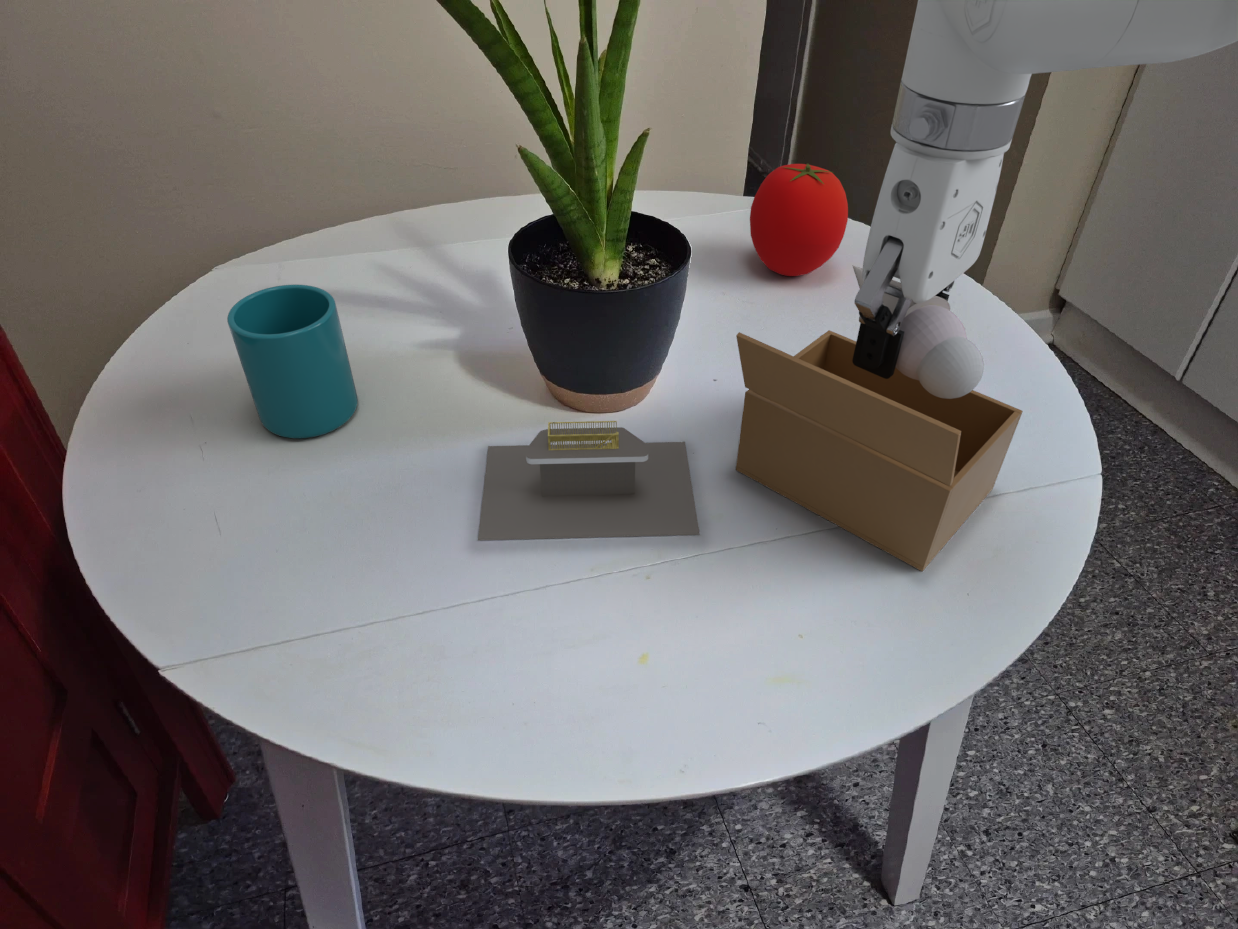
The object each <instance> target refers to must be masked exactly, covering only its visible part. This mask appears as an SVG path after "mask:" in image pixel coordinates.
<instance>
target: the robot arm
mask: <svg viewBox="0 0 1238 929" xmlns="http://www.w3.org/2000/svg"><path fill="white" fill-rule="evenodd" d="M1237 42H1238V0H917V4H916V9H915V13H914V19H913V23H912V28H911V33H910V38H909V42H908V46H907V51H906V57H905V61H904V65H903V71H902V76H901V79H900V83H899V89H898V95H897V97H896V104H895V108H894V113H893V118H892V124H891V127H890V136H891V138H892V139H893V141H895V144H894V146H893V149H892V152H891V155H890V158H889V162H888V165H887V167H886V171H885V174H884V176H883V179H882V180H883V181H882V183H881V186H880V191H879V194H878V198H877V200H876V205H875V209H874V212H873V216H872V220H871V224H870V228H869V232H868V236H867V240H866V245H865V249H864V256H863V262H862V277H863V280H864V283H863V285H862V286H861V288H859V290H858V291H857V293H856V296H855V298H854V305H855V307H856V309H857V310H858V316H859V317H858V322H859V323H860V324H859V328H858V333H857V337H856V340H855V341H856V346H855V350H854V355H853V360H852V362H853V364H854V365H855V366H857V367H859V368H862V369H864V370H866V371H868V372H871V373H873V374H875V375H878V376H880V377H882V378H885V379H889V378H890V377H891V376H892V375H893V374H894V371H895V367H896V363H897V359H898V355H899V351H900V348H901V344H902V340H903V336H904V331H902V330H900V327H901V325H902V323H903V320H904V318H905V315H906V313H907V311H908V308H909V306H910V303H911V301H913V302H914V303H918V304H919V303H923V302H925V301H927V300H929V299H931V298H932V297H934V296H938V297H941V298H943V299H945V300H947V302H948V301H949V298H950V294H948V293H949V292H950V291H951V290H952V289H953V286H954V285H955V282H956V280H957V279H958V278H959V277H960V276H962V275H963V274H964V273H965V272H967V271H968V270H969V269H970V268H971V267H972V266H973V265H974V264H975V263H976V262H977V260H978V258H979V256H980V255H981V252H982V248H983V245H984V242H985V237H986V234H987V229H988V227H989V226H988V225H989V223H990V222H989V221H990V218H991V214H992V210H993V206H994V202H995V198H996V195H997V190H998V187H999V181H1000V176H1001V173H1002V172H1001V171H1002V168H1003V161H1004V155H1005V153H1006V152H1008V150H1009V149H1010V148H1011V144H1012V141H1013V138H1014V135H1015V131H1016V129H1017V124H1018V121H1019V118H1020V115H1021V112H1022V109H1023V104H1024V101H1025V98H1026V93H1027V91H1028V88H1029V85H1030V81H1031V77H1032V75H1035V74H1045V73H1046V74H1047V73H1059V72H1072V71H1081V70H1089V69H1098V68H1099V69H1100V68H1112V67H1113V68H1114V67H1124V66H1138V65H1153V64H1166V63H1167V64H1168V63H1173V62H1179V61H1183V60H1188V59H1192V58H1196V57H1198V56H1202V55H1206V54H1208V53H1211V52H1213V51H1216V50H1219V49H1222V48H1225V47H1227V46H1230V45H1232V44H1234V43H1237ZM894 278H896V279H899V282H900V283H901V287H902V288H900V287H897V286H894V285H892V284H890V282H891V280H894ZM884 293H886V294H889V295H891V296H894V297H897V298H899V299H898V302H897V304H896V307H895V309H894V312H893V314H892V313H891V311H890V309H889V308H888V307H887V306H884V305H883V295H884ZM948 303H949V302H948Z"/></svg>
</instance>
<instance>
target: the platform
mask: <svg viewBox="0 0 1238 929" xmlns="http://www.w3.org/2000/svg"><path fill="white" fill-rule="evenodd" d="M604 423H606V427H604ZM613 423H615V426H613ZM563 424H565V426H563ZM579 424H581V427H579ZM588 424H590V427H588ZM595 424H599V427H595ZM617 424H618V422H617V420H591V421H589V420H588V421H554V422H553V421H548V423H547V428H546V429H542V430H540V431H539V432H538V433H537V434H536V436H535V437H534V438H533V440H532V441H531V442H530V443H529V444H526V445H523V444H522V445H521V444H519V445H488V446H487V454H486V464H485V473H484V481H483V490H482V498H481V500H482V501H481V507H480V508H481V509H480V516H479V517H480V518H479V526H478V535H477V541H506V540H508V541H509V540H511V541H512V540H544V539H545V540H547V539H549V540H550V539H583V538H586V539H587V538H620V537H621V538H622V537H623V538H624V537H625V538H627V537H628V538H629V537H661V536H663V537H665V536H666V537H667V536H697V535H698V536H699V535H700V534H701V533H700V527H699V522H698V515H697V509H696V502H695V497H694V496H695V495H694V489H693V483H692V477H691V471H690V465H689V458H688V457H689V456H688V452H687V444H686V441H662V442H661V441H660V442H659V441H658V442H657V441H656V442H655V441H654V442H645V441H643V440H642V439H640V438H639V437H637V436H636V435H635V434H633V433H632V432H630V431H629V430H628V429H626V428H625V427H622V426H619V427H618V425H617ZM554 425H556V428H554ZM570 425H572V427H570ZM561 427H563V428H561ZM585 442H586V443H585ZM593 442H594V443H593Z"/></svg>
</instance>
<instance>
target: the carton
mask: <svg viewBox="0 0 1238 929" xmlns="http://www.w3.org/2000/svg"><path fill="white" fill-rule="evenodd" d="M856 341H857V340H854V339H851V338H849V337H847V336H844V335H841V334H840V333H837V332H835V331H832V330H830V329H829V330H827V331H826V332H824V333H823V334H821V336H819V337H817V338H816V339H815V340H813V341H812V342H811V343H810V344H808V345H807V346H805V347H804V348H802V349H801V350H800V351H798V352H797V353H796V354H794V355H793V356H794V357H796V358H798V359H801V360H803V361H805V362H807V363H810V364H812V365H814V366H816V367H819V368H821V369H823V370H825V371H828V372H830V373H832V374H834V375H836V376H839V377H841V378H843V379H845V380H848V381H850V382H852V383H854V384H857V385H859V386H861V387H863V388H866V389H868V390H870V391H872V392H875V393H877V394H879V395H881V396H884V397H886V398H888V399H890V400H893V401H895V402H897V403H899V404H902V405H904V406H906V407H908V408H911V409H913V410H915V411H917V412H920V413H922V414H924V415H926V416H929V417H931V418H933V419H935V420H938V421H940V422H942V423H944V424H947V425H949V426H951V427H953V428H956V429H958V430H960V431H961V436H960V442H959V448H958V454H957V460H956V466H955V472H954V478H953V483H952V484H951V486H949V485H947V484H945V483H943V482H941V481H938V480H936V479H934V478H932V477H930V476H928V475H926V474H924V473H922V472H920V471H918V470H916V469H914V468H911V467H909V466H907V465H905V464H903V463H901V462H899V461H897V460H895V459H893V458H891V457H889V456H887V455H885V454H882V453H880V452H878V451H876V450H874V449H872V448H870V447H868V446H866V445H864V444H862V443H860V442H858V441H856V440H853V439H851V438H849V437H847V436H845V435H843V434H841V433H839V432H837V431H835V430H833V429H831V428H829V427H826V426H824V425H822V424H820V423H818V422H816V421H814V420H812V419H810V418H808V417H806V416H804V415H802V414H800V413H797V412H795V411H793V410H791V409H789V408H787V407H785V406H783V405H781V404H779V403H777V402H775V401H773V400H771V399H768V398H766V397H764V396H762V395H760V394H758V393H756V392H754V391H752V390H750V389H747V390H746V391H745V393H744V400H743V409H742V414H741V415H742V416H741V423H740V430H739V440H738V448H737V456H736V462H735V464H736V465H735V470H736V471H737V472H739V473H740V474H742V475H744V476H746V477H748V478H749V479H752V480H753V481H755V482H757V483H759V484H761V485H763V487H766V488H768V489H770V490H771V491H773V492H775V493H777V494H779V495H781V496H783V497H784V498H786V499H788V500H790V501H792V502H793V503H795V504H797V505H799V506H802V507H803V508H805V509H807V511H810V512H812V513H814V514H816V515H818V516H819V517H821V518H823V519H825V520H827V521H829V522H830V523H832V524H834V525H835V526H837V527H839V528H841V529H843V530H845V531H847V532H849V533H851V534H853V535H854V536H856V537H858V538H860V539H862V540H864V541H865V542H867V543H868V544H871V545H872V546H874V547H876V548H878V549H880V550H882V551H883V552H885V553H887V554H889V555H892V556H893V557H895V558H896V559H899V561H902V562H904V563H905V564H907V565H910V566H911V567H913V568H915V569H917V570H919V571H920V572H923V571H924V570H925V569H926V568H927V567H928V565H929V564H931V563H932V561H933V560H934V558H936V556H937V555H938V554H939V553H940V552H941V550H943V548H944V547H945V546H946V544H948V543H949V541H950V540H951V539H952V538H953V536H954V535H955V534H956V533H957V532H958V530H959V529H960V528H961V527H962V526H963V525H964V523H965V522H966V521H967V520H968V519H969V518H970V517H971V515H973V513H974V512H975V511H976V510H977V508H978V507H979V506H980V505H981V503H982V502H983V501H984V500H985V499H986V497H988V495H989V494H990V493H991V492H992V491H993V489H994V487H995V484H996V481H997V479H998V476H999V474H1000V472H1001V468H1002V466H1003V464H1004V461H1005V459H1006V456H1007V453H1008V451H1009V448H1010V446H1011V443H1012V440H1013V437H1014V435H1015V434H1016V433H1015V432H1016V430H1017V428H1018V426H1019V422H1020V420H1021V418H1022V415H1023V410H1022V409H1019V408H1017V407H1015V406H1012V405H1010V404H1007V403H1005V402H1003V401H1000V400H998V399H995V398H993V397H991V396H989V395H986V394H984V393H982V392H979V391H977V390H975V389H973V390H972V391H971V392H969V393H968V394H966V395H964V396H962V397H959V398H953V399H946V398H940V397H937V396H934V395H932V394H931V393H929V392H928V391H927V390H926V389H925V388H924V387H923V386H922V385H921V383H920V381H919V380H916V379H912V378H910V377H908V376H906V375H904V374H902V373H901V372H900V371H899V370H898V369H897V368H896V367H895V371H894V374H893V375H892V376H891V377H890V378H889V379H885V378H882V377H880V376H878V375H875V374H873V373H871V372H868V371H866V370H864V369H862V368H859V367H857V366H855V365H854V364H853V362H852V360H853V355H854V350H855V346H856Z"/></svg>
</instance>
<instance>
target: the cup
mask: <svg viewBox="0 0 1238 929" xmlns="http://www.w3.org/2000/svg"><path fill="white" fill-rule="evenodd" d="M227 325H228V328H229V331H230V334H231V337H232V340H233V344H234V346H235V350H236V352H237V355H238V358H239V362H240V365H241V368H242V371H243V373H244V377H245V379H246V383H247V386H248V389H249V391H250V394H251V398H252V401H253V404H254V407H255V410H256V412H257V415H258V419H259V421H260V423H261V424H262V426H263V427H264V428H265V429H266V430H267V431H268V432H270V433H272V434H274V435H277V436H278V437H283V438H288V439H310V438H315V437H319V436H323V435H326V434H329V433H331V432H333V431H335V430H337V429H339V428H341V427H342V426H343V425H345V424H346V423H348V421H349V420H350V419H351V418H352V417H353V415H354V414H355V412H356V410H357V407H358V403H359V401H358V400H359V399H358V394H357V393H358V392H357V389H356V384H355V381H354V375H353V371H352V368H351V367H352V366H351V363H350V360H349V354H348V351H347V346H346V342H345V338H344V337H345V336H344V333H343V329H342V325H341V321H340V317H339V312H338V308H337V303H336V301H335V298H334V297H333V296H332V295H331V293H330V292H328V291H327V290H325V289H323V288H320V287H318V286H315V285H314V286H313V285H307V284H282V285H276V286H270V287H266V288H264V289H260V290H257V291H255V292H252V293H250V294H247V295H246V296H245V297H243V298H241V299H239V301H237V302H236V303H235V304H234V305H233V306H232V307H231V308H230V310H229V312H228V313H227Z"/></svg>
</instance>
